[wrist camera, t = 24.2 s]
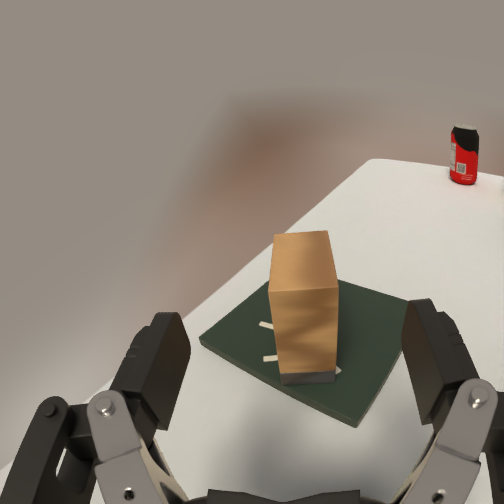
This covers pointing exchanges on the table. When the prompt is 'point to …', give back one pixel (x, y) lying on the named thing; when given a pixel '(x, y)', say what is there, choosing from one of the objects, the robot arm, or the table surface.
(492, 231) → the table surface
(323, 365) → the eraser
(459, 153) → the beverage can
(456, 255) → the table surface
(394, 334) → the slate board
